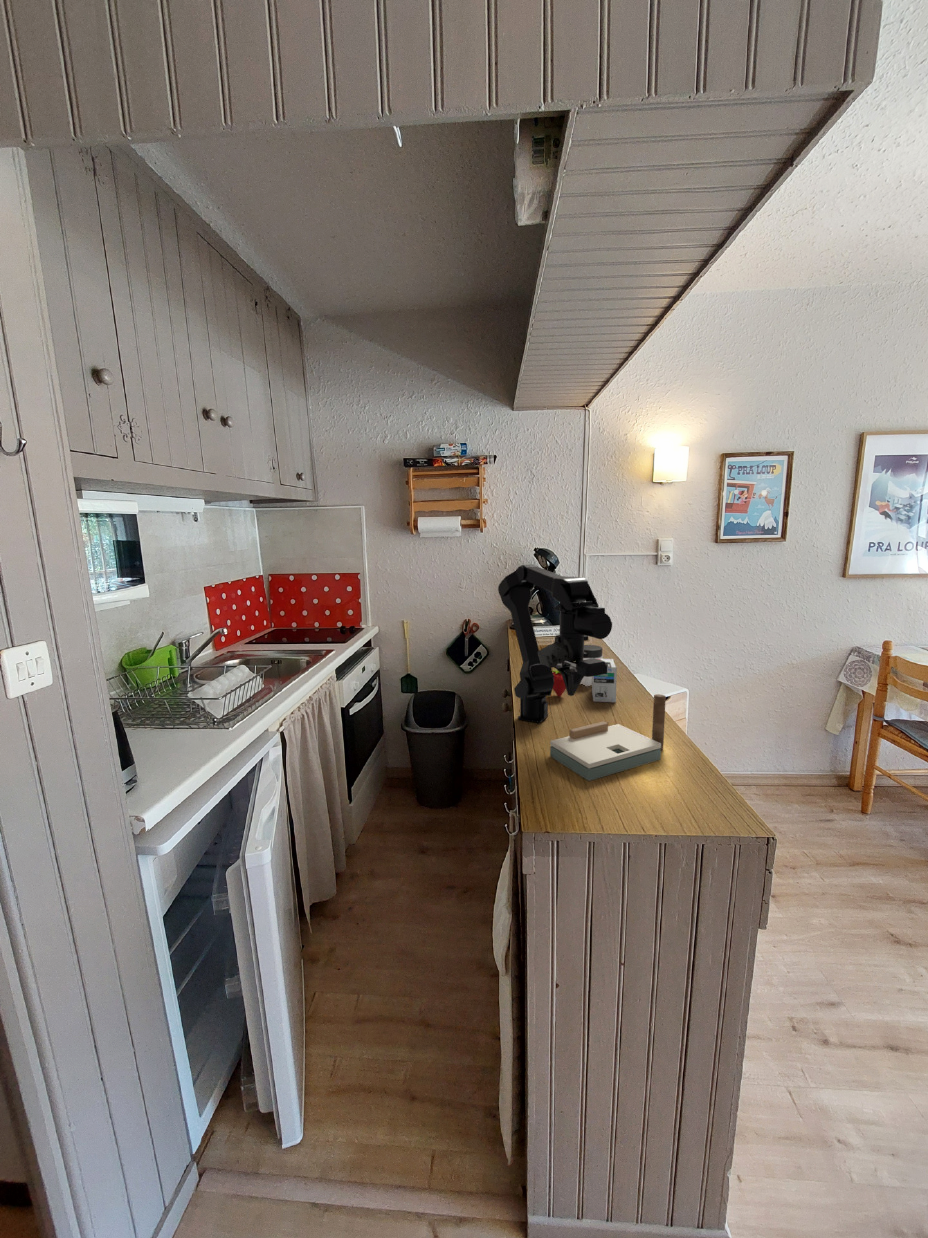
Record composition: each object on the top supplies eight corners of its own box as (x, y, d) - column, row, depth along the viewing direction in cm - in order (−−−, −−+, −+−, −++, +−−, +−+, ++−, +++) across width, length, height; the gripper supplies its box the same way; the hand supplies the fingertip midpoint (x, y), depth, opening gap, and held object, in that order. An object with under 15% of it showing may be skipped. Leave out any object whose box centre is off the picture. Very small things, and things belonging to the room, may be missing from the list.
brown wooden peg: (649, 747, 116) (651, 695, 114) (657, 745, 117) (659, 693, 115) (657, 751, 113) (660, 698, 111) (665, 749, 115) (668, 696, 112)
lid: (550, 745, 112) (550, 733, 111) (618, 727, 120) (618, 716, 120) (588, 768, 100) (589, 755, 100) (660, 747, 109) (661, 735, 108)
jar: (599, 678, 170) (600, 644, 168) (605, 686, 162) (606, 650, 160) (572, 679, 170) (573, 644, 168) (578, 686, 162) (578, 650, 160)
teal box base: (550, 756, 112) (550, 746, 112) (617, 738, 121) (618, 729, 120) (588, 781, 101) (588, 770, 100) (660, 759, 109) (660, 749, 109)
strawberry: (550, 700, 149) (550, 668, 147) (547, 692, 156) (547, 661, 155) (570, 700, 149) (571, 668, 147) (566, 692, 156) (566, 661, 154)
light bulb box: (616, 703, 146) (617, 667, 144) (592, 702, 147) (593, 666, 145) (613, 691, 156) (614, 658, 154) (591, 690, 157) (591, 657, 155)
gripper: (521, 628, 122) (521, 690, 124) (569, 642, 105) (568, 713, 108) (558, 624, 126) (557, 683, 129) (610, 637, 110) (608, 704, 113)
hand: (571, 695), depth 119 cm, fingers closed
